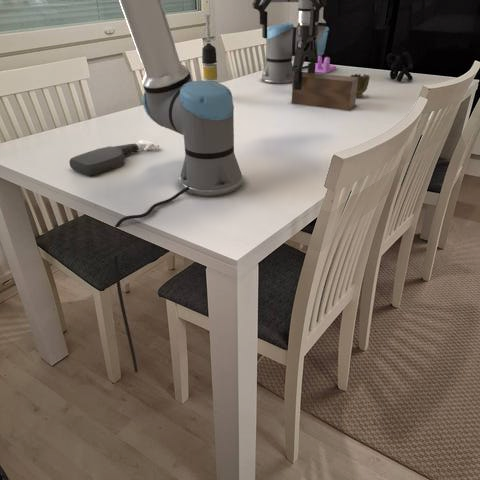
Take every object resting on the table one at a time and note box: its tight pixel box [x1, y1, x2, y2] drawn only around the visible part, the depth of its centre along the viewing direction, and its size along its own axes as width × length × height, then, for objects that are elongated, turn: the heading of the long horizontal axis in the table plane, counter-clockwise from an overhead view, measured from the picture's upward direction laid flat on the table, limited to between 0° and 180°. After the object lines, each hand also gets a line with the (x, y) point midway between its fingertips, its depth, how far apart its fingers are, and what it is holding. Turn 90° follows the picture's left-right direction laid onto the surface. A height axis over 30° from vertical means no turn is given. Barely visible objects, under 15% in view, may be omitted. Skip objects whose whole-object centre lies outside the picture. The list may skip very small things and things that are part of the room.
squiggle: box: [385, 51, 414, 83], centre depth 198 cm, size 11×10×15 cm
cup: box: [350, 73, 371, 98], centre depth 175 cm, size 8×7×8 cm
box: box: [291, 71, 358, 111], centre depth 166 cm, size 23×7×10 cm, turn 60°
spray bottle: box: [68, 139, 160, 177], centre depth 124 cm, size 3×11×24 cm
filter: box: [201, 14, 219, 83], centre depth 171 cm, size 6×6×30 cm
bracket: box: [315, 56, 337, 74], centre depth 219 cm, size 13×6×7 cm, turn 143°
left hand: (288, 36), depth 124 cm, fingers open, 13 cm apart
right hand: (304, 85), depth 170 cm, fingers open, 13 cm apart
